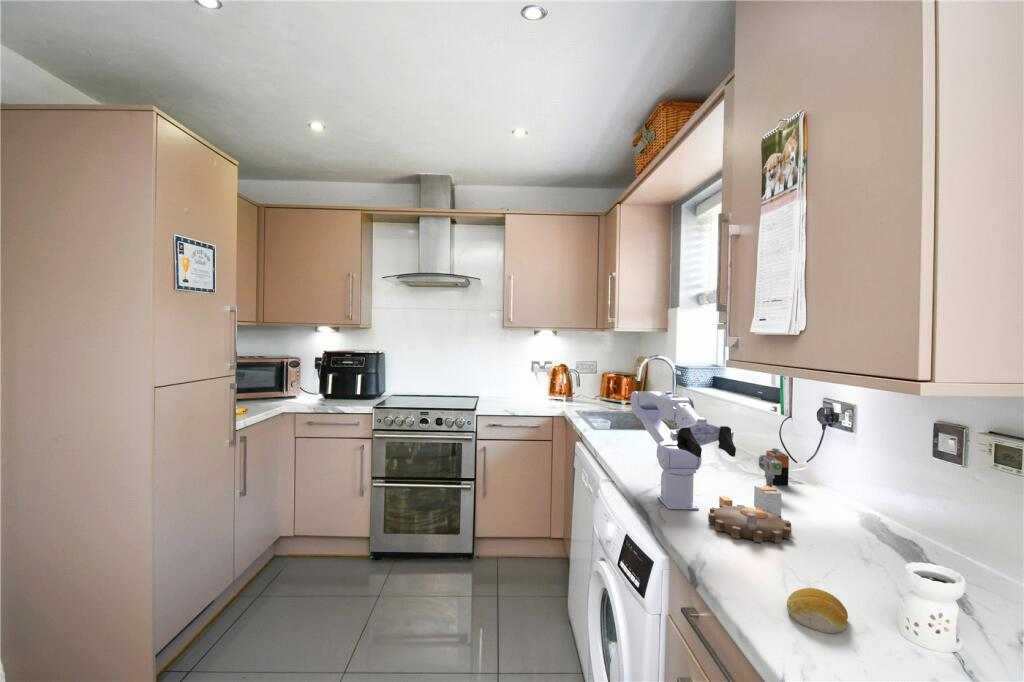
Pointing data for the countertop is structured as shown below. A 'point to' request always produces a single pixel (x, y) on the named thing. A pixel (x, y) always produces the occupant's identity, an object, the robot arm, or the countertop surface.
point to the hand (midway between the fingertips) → (716, 452)
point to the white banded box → (767, 499)
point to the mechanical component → (770, 468)
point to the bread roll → (817, 610)
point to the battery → (784, 460)
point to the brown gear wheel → (749, 523)
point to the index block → (725, 501)
